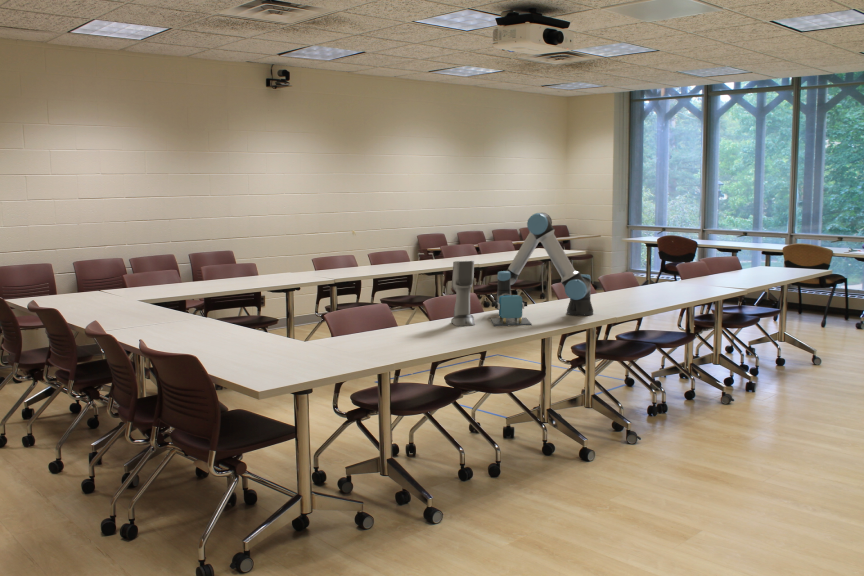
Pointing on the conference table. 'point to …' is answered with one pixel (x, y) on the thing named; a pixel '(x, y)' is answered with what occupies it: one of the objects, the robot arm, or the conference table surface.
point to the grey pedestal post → (462, 292)
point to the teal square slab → (510, 306)
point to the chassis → (510, 321)
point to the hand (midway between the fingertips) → (511, 306)
